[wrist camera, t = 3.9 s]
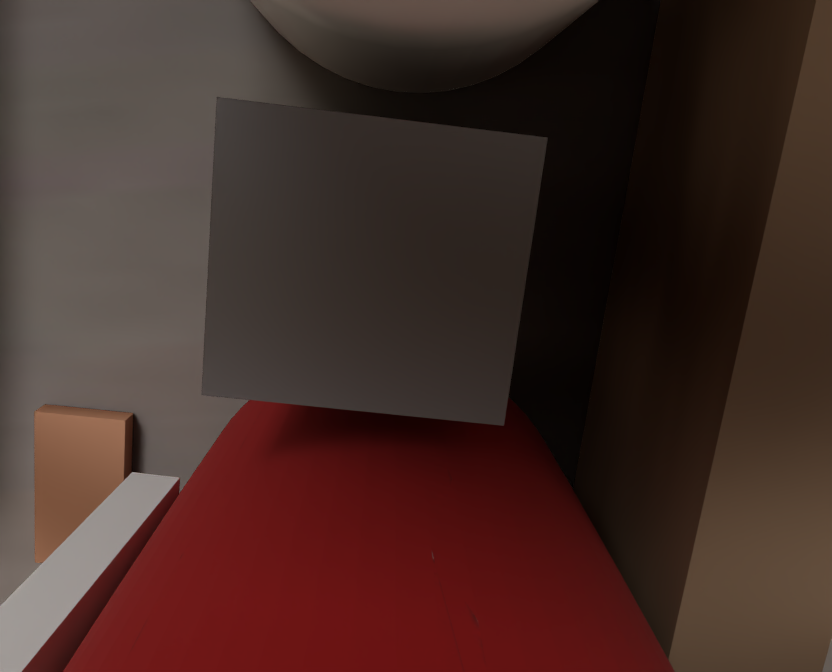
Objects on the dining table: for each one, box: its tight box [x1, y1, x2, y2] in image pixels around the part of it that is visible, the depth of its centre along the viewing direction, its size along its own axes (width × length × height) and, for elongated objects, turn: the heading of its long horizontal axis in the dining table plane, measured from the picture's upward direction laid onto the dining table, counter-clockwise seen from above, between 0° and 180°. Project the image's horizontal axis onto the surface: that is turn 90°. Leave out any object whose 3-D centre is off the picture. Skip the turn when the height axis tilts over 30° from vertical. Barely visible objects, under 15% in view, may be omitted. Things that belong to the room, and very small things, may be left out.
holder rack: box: [34, 0, 832, 672], centre depth 10 cm, size 23×12×6 cm, turn 173°
